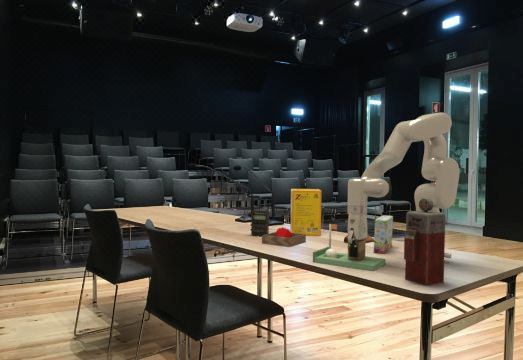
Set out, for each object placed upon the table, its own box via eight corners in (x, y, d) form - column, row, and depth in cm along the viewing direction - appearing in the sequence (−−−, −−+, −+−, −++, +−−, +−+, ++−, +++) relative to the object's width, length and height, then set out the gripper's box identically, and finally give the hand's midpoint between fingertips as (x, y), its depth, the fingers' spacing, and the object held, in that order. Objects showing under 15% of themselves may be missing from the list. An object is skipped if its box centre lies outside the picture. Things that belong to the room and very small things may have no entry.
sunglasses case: (357, 244, 209) (351, 232, 211) (347, 250, 213) (342, 237, 216) (378, 241, 220) (373, 229, 223) (368, 246, 225) (363, 234, 227)
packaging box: (290, 231, 251) (290, 188, 250) (318, 231, 250) (318, 189, 249) (291, 235, 235) (291, 190, 234) (320, 236, 234) (321, 190, 233)
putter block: (365, 257, 169) (365, 239, 169) (359, 260, 164) (360, 241, 164) (353, 255, 172) (353, 238, 172) (347, 258, 167) (347, 240, 167)
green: (385, 263, 169) (386, 228, 168) (373, 270, 157) (374, 233, 157) (327, 255, 183) (328, 223, 182) (312, 261, 171) (313, 227, 170)
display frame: (305, 242, 215) (305, 234, 215) (290, 246, 202) (290, 238, 202) (278, 238, 224) (278, 231, 224) (261, 243, 211) (262, 235, 211)
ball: (326, 257, 177) (337, 261, 175) (321, 258, 173) (332, 263, 171) (329, 246, 177) (340, 250, 174) (324, 247, 173) (335, 251, 170)
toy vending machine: (399, 280, 145) (401, 198, 144) (421, 276, 151) (423, 197, 150) (421, 286, 137) (423, 200, 136) (444, 282, 143) (446, 198, 142)
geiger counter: (248, 236, 232) (249, 208, 231) (251, 234, 236) (251, 207, 235) (267, 237, 228) (267, 209, 228) (269, 236, 233) (269, 208, 232)
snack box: (386, 254, 188) (386, 220, 187) (373, 253, 190) (373, 219, 190) (392, 246, 207) (393, 215, 206) (380, 245, 209) (381, 214, 209)
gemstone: (289, 243, 204) (295, 232, 212) (273, 234, 205) (280, 223, 213) (283, 255, 209) (289, 244, 217) (267, 246, 210) (274, 235, 218)
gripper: (358, 212, 158) (357, 260, 159) (373, 208, 173) (373, 253, 173) (339, 211, 162) (338, 258, 163) (356, 207, 177) (355, 250, 177)
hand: (356, 255), depth 168 cm, fingers closed on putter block, 6 cm apart
